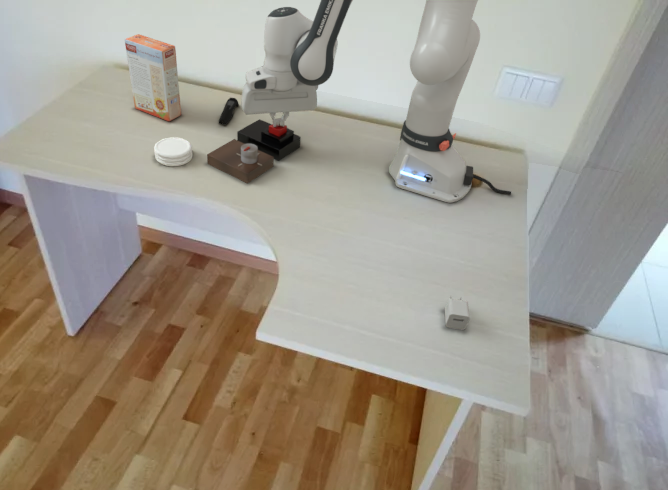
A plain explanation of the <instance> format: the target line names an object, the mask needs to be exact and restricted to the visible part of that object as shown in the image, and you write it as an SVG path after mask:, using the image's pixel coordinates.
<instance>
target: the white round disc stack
mask: <svg viewBox="0 0 668 490" xmlns="http://www.w3.org/2000/svg"><path fill="white" fill-rule="evenodd" d="M153 150H154V158H155V160H156V161H157V163H159V164H161V165H163V166H167V167H180V166H183V165H186V164H188V163H189V162H191V160H192V159H193V154H194V153H193V145H192V143H191V142H190V141H189V140H187V139H185V138H182V137H177V136H172V137H171V136H170V137H165V138H162V139H160V140H158V141H156V142H155V144H154V146H153Z"/></svg>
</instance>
